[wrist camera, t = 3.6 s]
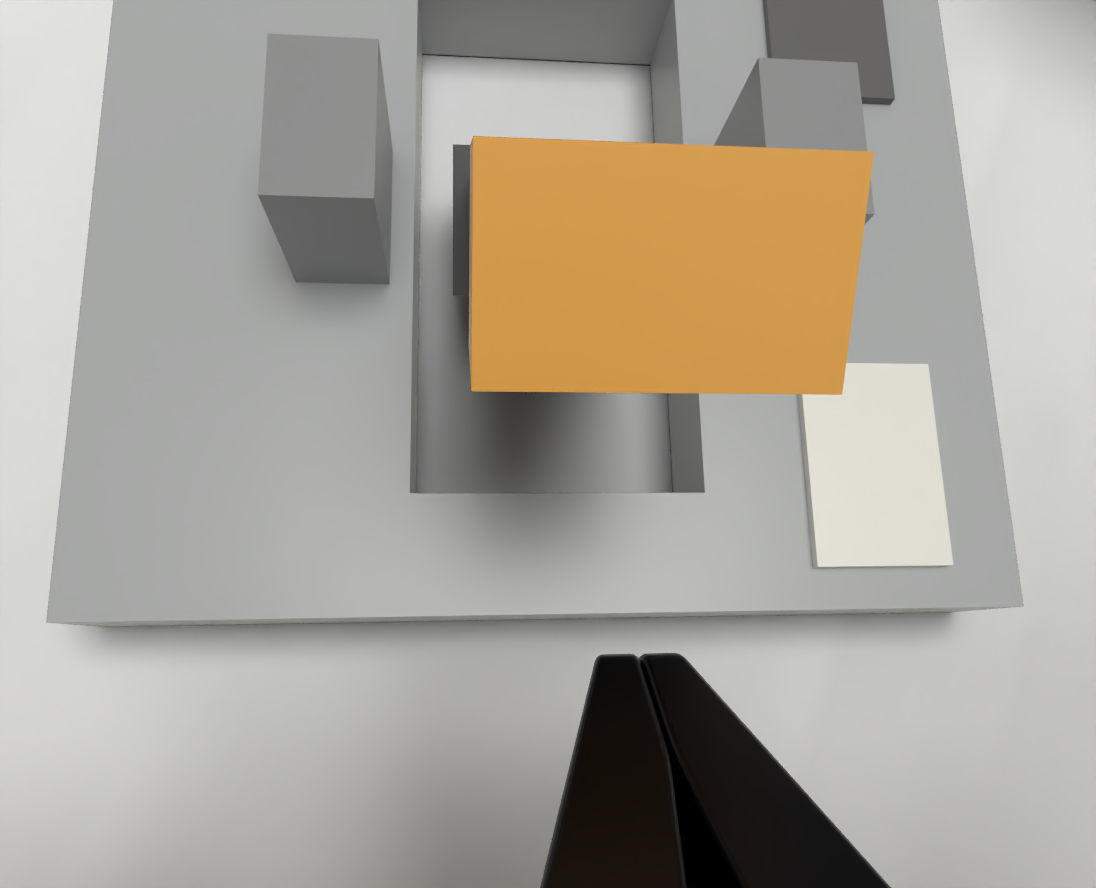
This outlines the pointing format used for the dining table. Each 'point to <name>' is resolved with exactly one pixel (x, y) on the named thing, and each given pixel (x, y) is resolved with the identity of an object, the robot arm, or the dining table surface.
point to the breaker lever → (657, 265)
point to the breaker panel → (393, 317)
